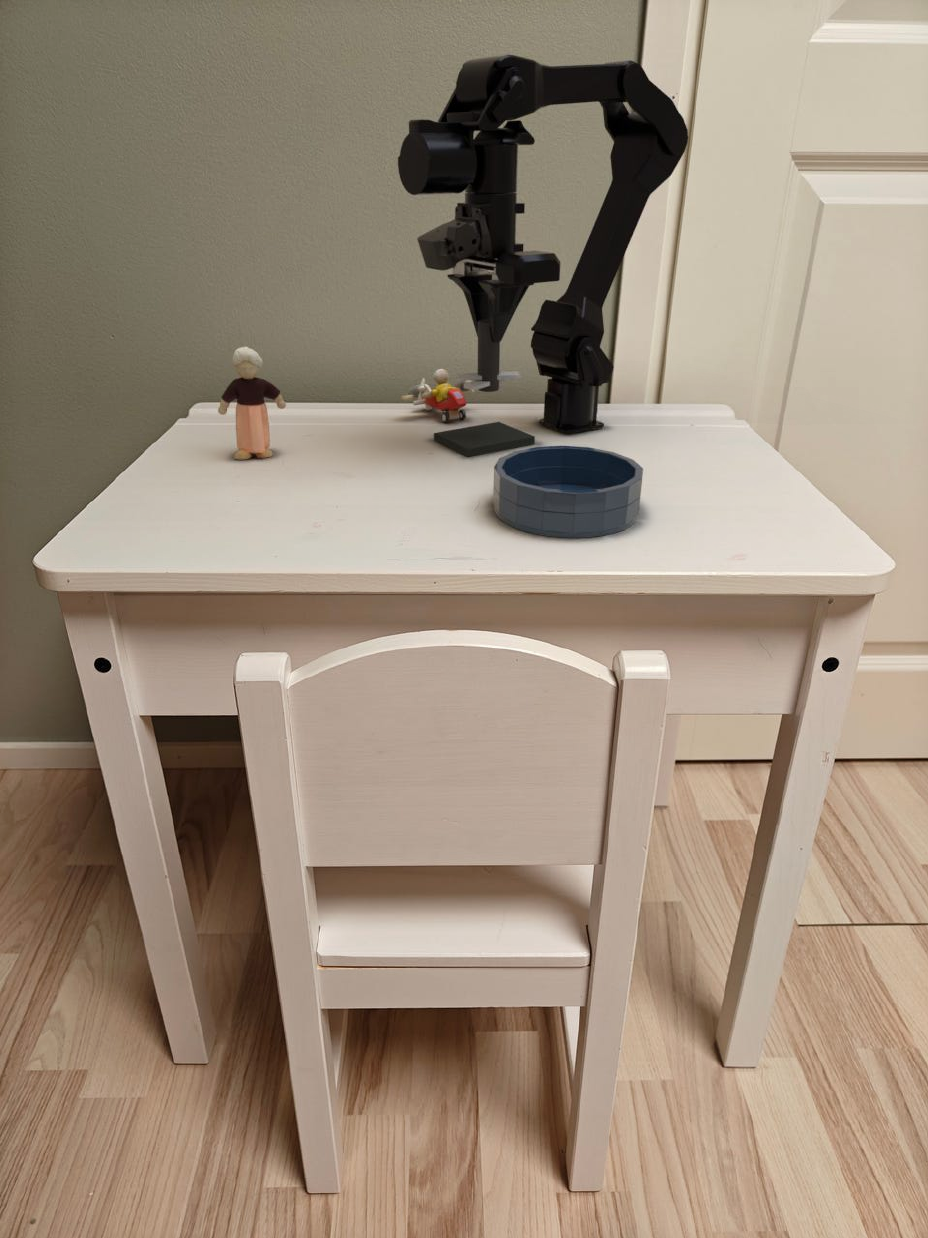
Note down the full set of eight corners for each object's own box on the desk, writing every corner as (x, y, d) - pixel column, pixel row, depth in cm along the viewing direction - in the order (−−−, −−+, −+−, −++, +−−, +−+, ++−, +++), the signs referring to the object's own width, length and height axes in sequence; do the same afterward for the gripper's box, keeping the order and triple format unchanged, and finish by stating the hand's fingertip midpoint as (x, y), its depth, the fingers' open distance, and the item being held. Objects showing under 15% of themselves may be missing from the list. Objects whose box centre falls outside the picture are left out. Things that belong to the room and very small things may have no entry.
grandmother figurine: (230, 464, 100) (216, 352, 94) (222, 455, 103) (208, 346, 97) (294, 455, 104) (284, 346, 98) (284, 446, 107) (274, 340, 101)
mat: (498, 428, 114) (498, 421, 113) (534, 443, 108) (535, 436, 107) (433, 440, 109) (433, 432, 109) (467, 457, 103) (467, 448, 103)
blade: (502, 381, 108) (503, 314, 104) (525, 389, 104) (527, 320, 101) (450, 389, 104) (450, 320, 100) (472, 397, 101) (473, 326, 97)
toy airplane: (464, 425, 115) (464, 377, 112) (399, 421, 117) (397, 373, 114) (478, 408, 123) (479, 362, 120) (417, 404, 125) (416, 359, 122)
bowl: (576, 477, 97) (578, 438, 95) (669, 518, 86) (674, 475, 84) (467, 501, 90) (467, 460, 88) (553, 549, 79) (555, 503, 77)
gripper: (385, 191, 97) (390, 334, 105) (478, 198, 83) (476, 362, 91) (467, 189, 103) (467, 325, 110) (567, 195, 89) (559, 350, 96)
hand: (489, 339), depth 102 cm, fingers closed on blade, 2 cm apart
